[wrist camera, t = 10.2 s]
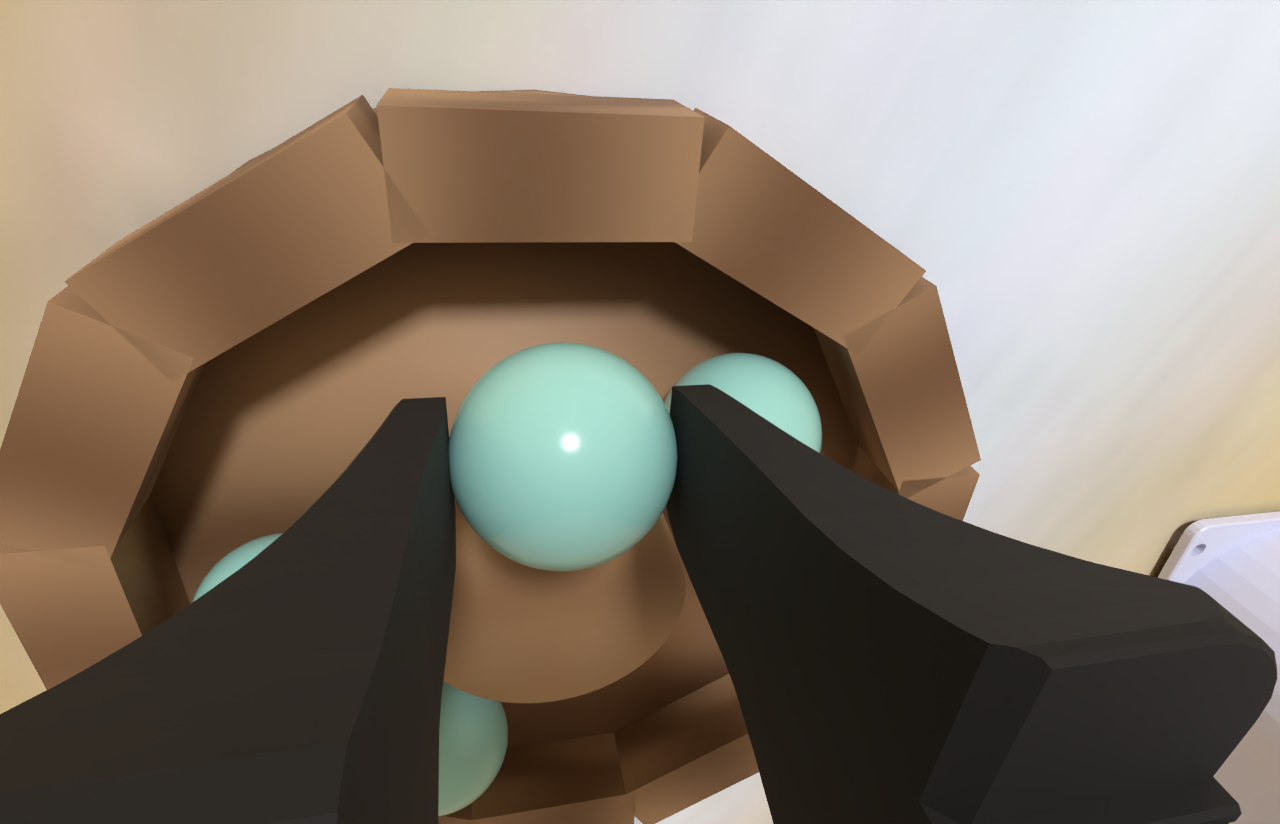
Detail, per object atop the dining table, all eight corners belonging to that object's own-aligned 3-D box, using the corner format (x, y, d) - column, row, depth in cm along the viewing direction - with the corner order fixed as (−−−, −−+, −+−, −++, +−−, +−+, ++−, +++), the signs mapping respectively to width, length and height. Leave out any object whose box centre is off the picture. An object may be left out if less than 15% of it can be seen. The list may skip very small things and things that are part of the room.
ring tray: (827, 720, 25) (868, 802, 22) (200, 818, 21) (164, 932, 18) (1013, 110, 15) (1124, 135, 12) (-131, 62, 11) (-313, 85, 8)
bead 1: (670, 321, 12) (736, 428, 9) (626, 486, 13) (670, 622, 11) (460, 292, 11) (460, 403, 8) (439, 475, 12) (433, 621, 10)
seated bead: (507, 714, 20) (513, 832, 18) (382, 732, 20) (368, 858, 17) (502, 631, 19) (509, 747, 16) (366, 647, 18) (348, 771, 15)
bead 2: (807, 383, 17) (881, 472, 14) (699, 473, 18) (750, 574, 15) (726, 294, 15) (794, 377, 12) (609, 398, 16) (648, 499, 13)
